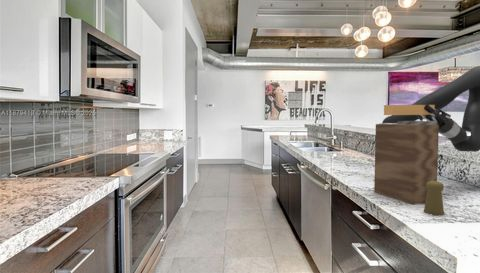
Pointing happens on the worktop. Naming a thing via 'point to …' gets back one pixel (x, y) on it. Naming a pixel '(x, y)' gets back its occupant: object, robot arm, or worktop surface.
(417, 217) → the worktop surface
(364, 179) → the worktop surface
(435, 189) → the cork
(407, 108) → the wooden bar
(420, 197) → the walnut stand
